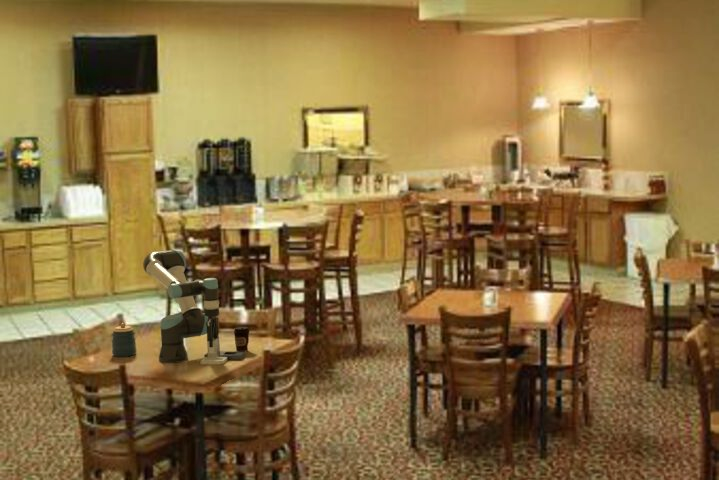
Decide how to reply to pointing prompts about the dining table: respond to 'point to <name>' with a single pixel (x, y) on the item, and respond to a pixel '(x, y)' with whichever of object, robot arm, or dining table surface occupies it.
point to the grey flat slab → (231, 355)
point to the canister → (123, 341)
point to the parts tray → (213, 360)
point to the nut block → (217, 348)
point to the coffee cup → (241, 338)
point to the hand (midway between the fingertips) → (213, 351)
